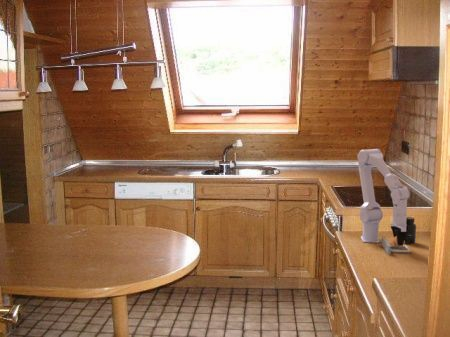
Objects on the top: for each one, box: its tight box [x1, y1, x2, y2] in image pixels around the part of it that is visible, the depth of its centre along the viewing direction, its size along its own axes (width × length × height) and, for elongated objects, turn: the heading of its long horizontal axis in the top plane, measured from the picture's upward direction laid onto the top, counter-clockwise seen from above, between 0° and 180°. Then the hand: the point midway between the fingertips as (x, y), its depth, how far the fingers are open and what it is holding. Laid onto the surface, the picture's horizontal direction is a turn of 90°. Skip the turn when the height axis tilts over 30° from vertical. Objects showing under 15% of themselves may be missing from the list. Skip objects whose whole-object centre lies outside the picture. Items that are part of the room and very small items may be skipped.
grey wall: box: [381, 235, 392, 256], centre depth 235 cm, size 16×1×4 cm, turn 173°
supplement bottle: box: [404, 216, 417, 245], centre depth 246 cm, size 7×7×12 cm
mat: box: [390, 244, 412, 255], centre depth 235 cm, size 11×9×1 cm
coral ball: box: [392, 236, 405, 247], centre depth 234 cm, size 5×5×5 cm
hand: (398, 243), depth 235 cm, fingers closed on coral ball, 5 cm apart
